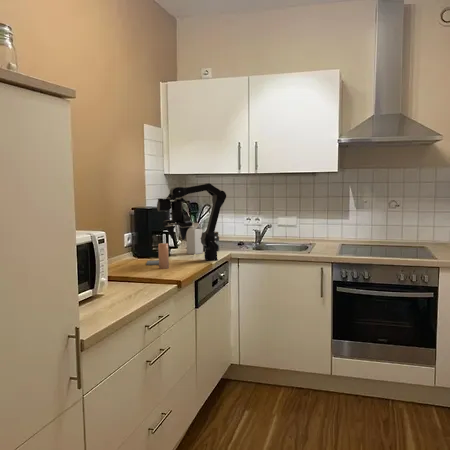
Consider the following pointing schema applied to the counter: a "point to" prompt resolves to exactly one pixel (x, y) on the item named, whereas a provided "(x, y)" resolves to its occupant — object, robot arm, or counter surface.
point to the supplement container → (215, 241)
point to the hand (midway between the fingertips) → (178, 239)
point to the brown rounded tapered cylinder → (163, 256)
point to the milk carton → (194, 239)
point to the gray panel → (153, 262)
